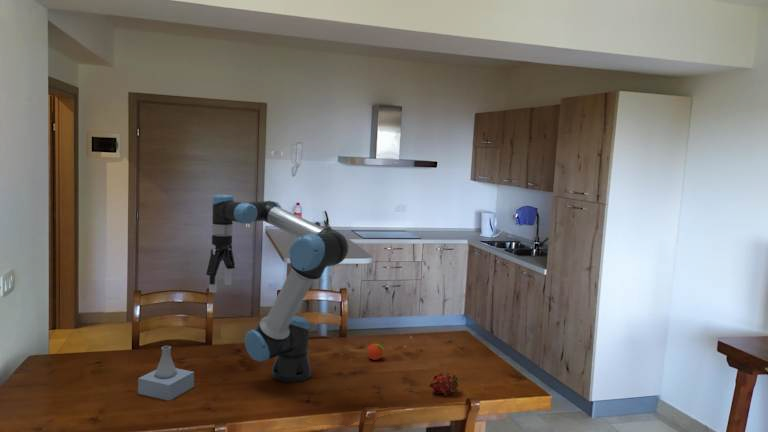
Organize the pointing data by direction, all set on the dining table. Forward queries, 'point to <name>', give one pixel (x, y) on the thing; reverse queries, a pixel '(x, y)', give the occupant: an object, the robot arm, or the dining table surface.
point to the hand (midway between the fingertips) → (220, 288)
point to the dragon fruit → (444, 383)
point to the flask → (165, 364)
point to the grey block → (166, 384)
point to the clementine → (375, 351)
